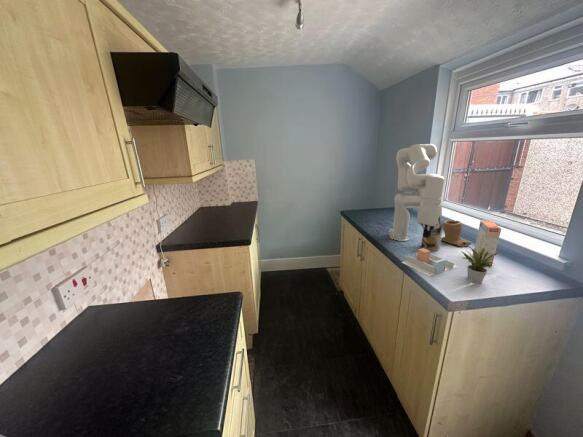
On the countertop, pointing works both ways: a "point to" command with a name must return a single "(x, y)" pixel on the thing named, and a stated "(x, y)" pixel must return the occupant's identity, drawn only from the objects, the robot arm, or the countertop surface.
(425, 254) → the peach cardboard carton
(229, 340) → the countertop surface
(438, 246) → the coffee box
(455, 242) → the tan piece
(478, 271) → the house plant
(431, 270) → the wall shelf
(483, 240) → the cracker box
